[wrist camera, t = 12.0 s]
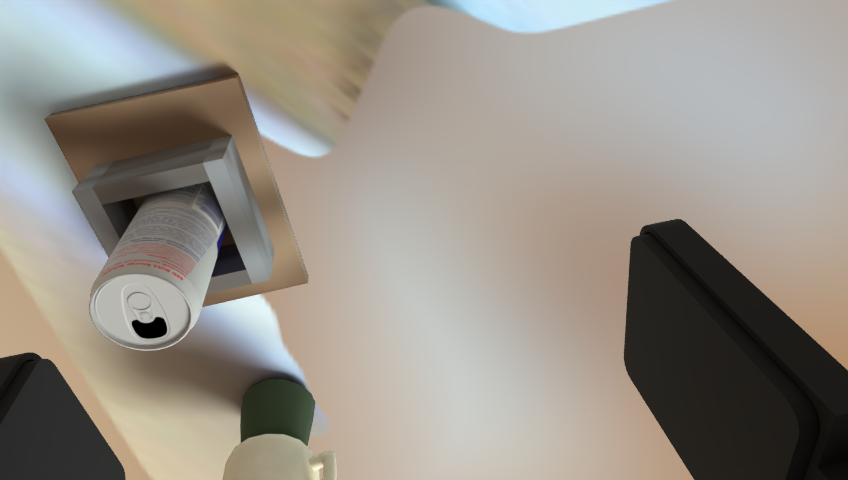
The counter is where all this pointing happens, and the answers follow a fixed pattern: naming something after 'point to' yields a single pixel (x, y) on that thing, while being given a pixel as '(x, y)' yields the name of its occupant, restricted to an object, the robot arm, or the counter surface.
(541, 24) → the counter surface
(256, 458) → the character mug
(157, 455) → the counter surface
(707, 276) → the robot arm
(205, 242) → the energy drink
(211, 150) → the can holder
